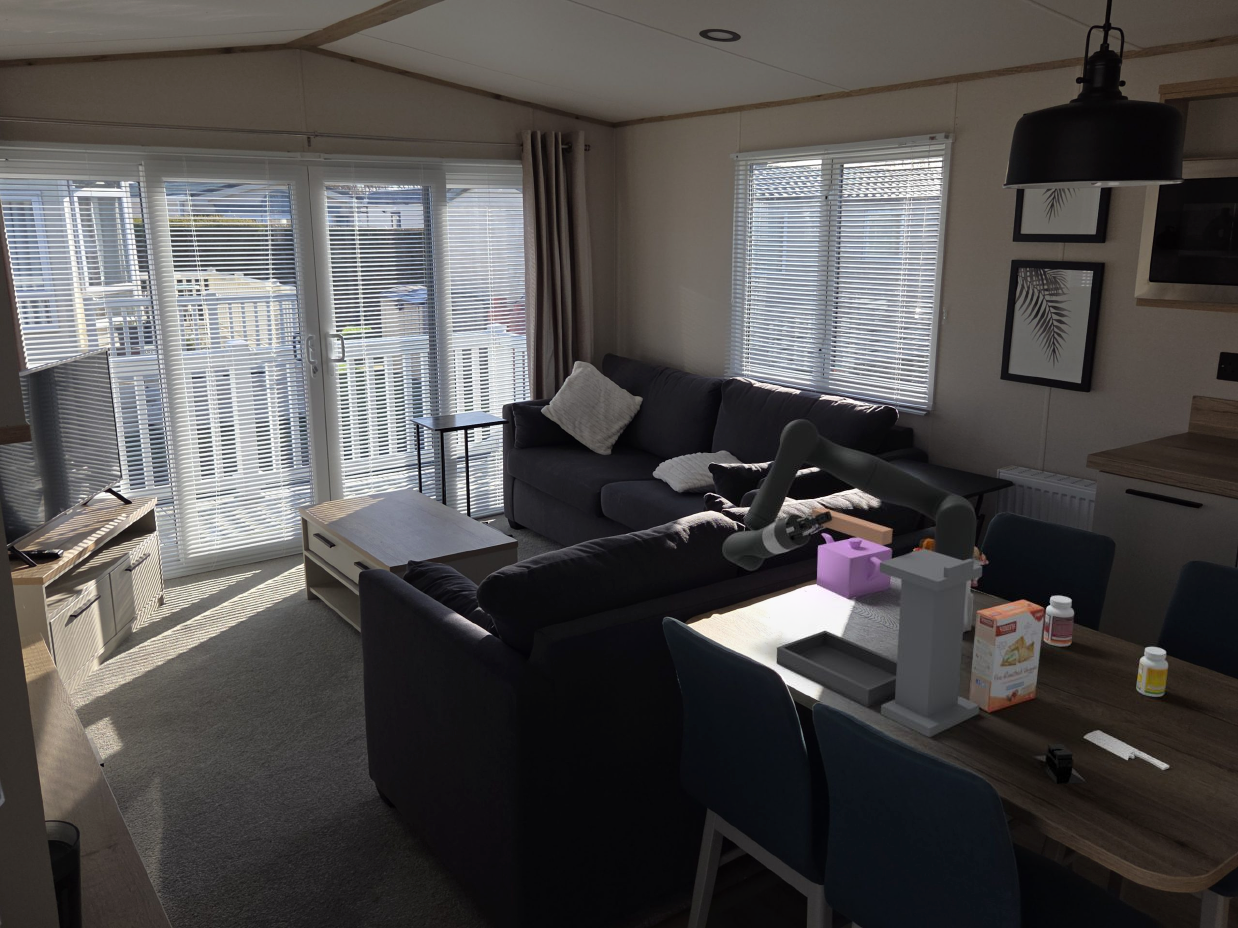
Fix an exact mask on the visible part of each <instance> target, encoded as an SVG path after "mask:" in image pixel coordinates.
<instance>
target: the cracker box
mask: <svg viewBox="0 0 1238 928" xmlns="http://www.w3.org/2000/svg"><path fill="white" fill-rule="evenodd" d="M1045 611H1046V609H1045V607H1043V606H1040V605H1038V604H1036V603H1033V602H1031V601H1028V600H1026V599H1020V600H1016V601H1013V602H1008V603H1003V604H1001V605H997V606H996V605H995V606H993V607H989V608H985V609H980V610H977V611H976V619H975V620H976V621H975V631H974V641H973V651H972V652H973V653H972V662H971V663H972V664H971V672H970V673H971V675H970V687H969V696H968V700H969V701H971V702H974V703H976V704H978V705H979V709H981V710H983V711H985V712H987V713H992V712H995V711H998V710H1002V709H1004V708H1007V707H1011V706H1013V705H1017V704H1020V703H1024V702H1026V701H1030V700H1032V699H1035V697H1036V689H1037V679H1038V673H1039V672H1038V670H1039V663H1040V661H1039V660H1040V655H1041V653H1040V652H1041V644H1042V636H1043V627H1044V619H1045Z"/></svg>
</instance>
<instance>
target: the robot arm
mask: <svg viewBox="0 0 1238 928" xmlns="http://www.w3.org/2000/svg"><path fill="white" fill-rule="evenodd" d="M779 444H780V445H779V447H778V451H777V453H776V455H775V459H774V461H773V463H772V465H771V467H770V469H769V472H768V473H767V475H766V477H765V479H764V481H763V482H762V484H761V486H760V487H759V489H758V491H757V492H756V495H755V496H754V498H753V500H752V503H751V505H750V506H749V508H748V511H747V513H746V514H745V517H744V520H743V523H744V525H745V526H746V527H747V528H748V529H750V530H745V531H737V532H734V533H733V534H731V535H729V536H728V537H727V538H726V539H725V540H724V542H723V544H722V554H723V556H724V558H725V559H726V560H727V561H730V562H731V563H733V564H736V565H737V566H739V567H742V568H743V569H744V570H747V571H755V570H757V569H759V568H760V566H762V565H763V563H764V561H765V559H768V558H771V557H774V556H777V555H779V554H782V553H786V552H789V551H790V552H791V550H795V549H796V548H800V547H802V546H805V545H806V544H807V543H809V540H810V539H811V535H813V534H815V533H818V532H819V531H820V530H823V529H826V528H827V527H824V526H821V525H822V524H824V523H827V522H829V521H831V520H832V517H831V513H830V511H826V512H824V513H821V514H819V515H817V516H816V515H813V516H812V515H808V516H805V517H803V516H801V515H799V514H797V513H794V514H793V513H792V514H789V515H788V516H785V517H782V518H781V519H778V520H777V518H778V515H779V513H780V511H781V509H782V507H783V505H784V502H785V500H786V499H787V496H788V494H789V491H790V488H791V486H792V484H793V482H794V480H795V478H796V476H797V474H798V472H799V471H800V470H801V468H802V466H803V464H804V463H805V464H808V465H810V466H813V467H816V468H818V469H820V470H823V471H825V472H827V473H829V474H831V475H832V476H834V477H835V478H836V479H839V480H841V481H842V482H845V483H846V484H848V485H850V486H852V487H853V488H855V489H857V490H859V491H860V492H863V493H865V494H866V495H869V496H871V497H873V498H875V499H877V500H879V501H882V502H885V503H890V504H894V505H896V506H897V505H898V506H902V507H906V508H910V509H912V510H914V511H917V512H919V513H921V514H922V515H925V516H926V517H928V518H930V519H931V520H933V521H934V522H935V531H934V533H935V534H934V540H935V544H934V551H933V552H936V553H939V554H943V555H946V556H949V557H953V558H956V559H959V560H963V561H964V560H967V559H972V560H973V555H974V547H976V546H975V544H976V531H977V515H976V512H975V508H974V506H973V505H972V503H971V502H970V501H969V500H968V499H966V498H965V497H964V496H960V495H958V494H955V493H952V492H950V491H948V490H947V491H946V490H945V489H943V488H939V487H937V486H933V485H931V484H929V483H927V482H924V481H923V480H921V479H919V478H918V477H916V476H914V475H912V474H911V473H908V472H907V471H906V470H903V469H901V468H899V467H898V466H896V465H894V464H892V463H890V462H888V461H886V460H884V459H882V458H880V457H877V456H875V455H872V454H871V453H866V452H863V451H860V450H856V449H852V448H848V447H844V446H842V445H839V444H838V443H837V444H836V443H835V442H832V441H831V440H829V439H827V438H825V437H824V436H822V435H820V434H819V432H818V429H817V427H816V426H815V424H813V422H812V421H809V420H807V419H802V418H799V419H794V420H793V421H790V422H789V423H787V425H785V426H784V428H783V430H782V432H781V434H780V437H779ZM832 511H835V512H838V513H842V514H844V513H843V510H842V509H841V508H836V509H834V510H832ZM971 582H972V580H969V581H966V595H965V609H964V623H963V633H965V632H969V631H971V630H972V620H973V607H974V606H973V605H974V604H973V603H974V593H972V592H971V587H972V586H971Z"/></svg>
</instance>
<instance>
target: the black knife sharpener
mask: <svg viewBox="0 0 1238 928" xmlns="http://www.w3.org/2000/svg"><path fill="white" fill-rule="evenodd" d="M1073 756H1074V754H1073V753H1072V752H1071V751H1070V750H1069V749H1068V748H1067V747H1066V746H1065V745H1064V743H1063V744H1061V743H1059V744H1058V743H1057V744H1047V748H1046V753H1045V755H1033V756H1031V758H1032V759H1033V760H1034V762H1036V763H1037V764H1038V766H1039V767H1040V768H1041V769H1042V770H1043V771H1044V772H1045V773H1046V774H1047V775H1048V776H1049V777H1050V778H1051V779H1052V781H1054V782H1055V784H1058V785H1062V784H1074V783H1075V784H1078V783H1087V782H1086V780H1085V778H1083V777H1082V776H1081V775H1080V774H1079V773H1078V772H1077V771H1076V770H1075V769H1074V767H1073V766H1074V759H1073Z"/></svg>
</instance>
